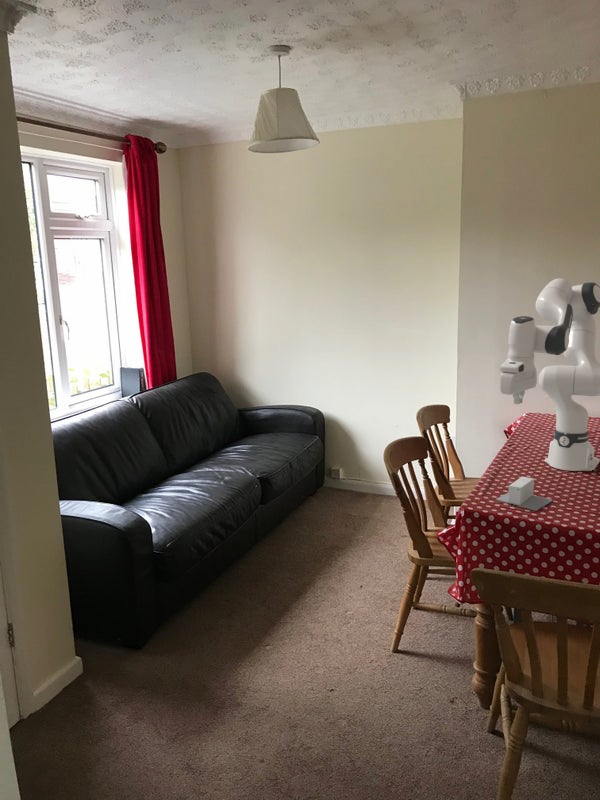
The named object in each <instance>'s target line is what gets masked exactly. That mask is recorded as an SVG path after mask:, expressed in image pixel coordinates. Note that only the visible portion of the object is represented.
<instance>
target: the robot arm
mask: <svg viewBox="0 0 600 800" xmlns="http://www.w3.org/2000/svg"><path fill="white" fill-rule="evenodd" d="M599 309H600V286H599V285H598V284H597V283H596V282H590V281H589V282H583V284H577V285H572V284H571V282H570V281H568V280H567V279H565V278H561V277H560V278H555V279H553V280H551V281H550V282H548V283H547V284H546V285H545V286H544V288H543V289H542V290H541V291H540V293H539V294H538V296H537V299H536V300H535V310H536V312H537V314H538V315H539V317H541V318H542V319H543V320H545V321H548V322H552V323H557V324H555V325H543V324H542V325H541V324H540V325H539V324H536V322H535V318H534V317H532V316H527V315H525V316H516V317H514V318H512V319H511V322H510V325H509V330H508V338H507V339H508V340H507V343H508V351H507V356H506V357H507V358H506V359H505V361H504V362H503V363H501V364H500V367H499V371H500V372H501V374H500V378H499V379H500V381H499V384H500V385H499V389H500V390H499V391H500V393H501V394H502V395H507V396H510V395H512V398H513V404H514V405H520V404H522V403H523V399H524V396H525V394H526V390H527V391H528V390H531V389H534V388H536V386H537V383H539V387H540V389H541V390H542V391H544V393H546V394H547V395H548V396H549V398H550V399H551V400H552V402H553V404H554V407H555V413H556V418H555V420H556V421H555V428H554V431H553V438H554V439H553V440H551V441H550V442H549V451H548V456H547V457H545V459H544V462H545V463H547V464H548V465H549V466H551V467H552V468H553V469H554V468H555V469H557V470H558V469H559V470H563V471H573V472H577V471H578V472H579V471H580V472H582V471H583V472H587V471H590V472H592V470H594V471H595V470H596V468H597V467H598V465H599V463H600V458H598V457H595V447H594V446H593V445H592V444H591V442H590V440H589V436H590V435H591V431H592V430H591V429H588V420H589V412H588V409H586V408H585V407H584V406H583V405H582V404H580V403H578V402H576V401H574V399H573V397H572V396H585V397H586V396H587V397H596V396H600V362H599V361H598V359H597V357H596V354H595V353H596V352H595V351H596V349H595V348H596V338H597V328H596V320H595V317H594V316H593V315H596V314H597V313H598V311H599ZM535 353H537V354H546V355H547V354H548V355H554V356H561V355H562V354H563V356H564V358H565V359H566V360H567V361H568V362H569V363H571V364H573V365H565V364H555V365H554V364H553V365H548V366H544V367H543V368H542V369H541V370H540V373H539V375H538V374H537V372H538V371H537V368H536V367H535ZM537 377H538V378H537ZM537 380H538V382H537Z"/></svg>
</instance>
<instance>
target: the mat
mask: <svg viewBox="0 0 600 800" xmlns="http://www.w3.org/2000/svg"><path fill="white" fill-rule="evenodd" d="M508 494H509V491H508V492H506V493H505V494H503V495H501V496H499V497H497V498H495V501H496V500H497V502H499V501H501V502H500V503H503V502H505V503H504V504H507V503H508ZM552 502H553V499H551V498H547V497H543V496H538V495H534V494H533V496H531V497H530V498H529V499H527V500H526V501H525V502H523V503H522V504H521V505H517V504H513V503H509V504H508V505H511V504H513V505H512V506H515V505H516V506H515V507H519V508H523V509H526V508H527V510H531V511H535V512H536V511H538V510H540V509H542V508H544V507H545V506H546V505H548V504H551V503H552Z"/></svg>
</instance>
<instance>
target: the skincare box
mask: <svg viewBox="0 0 600 800" xmlns="http://www.w3.org/2000/svg"><path fill="white" fill-rule="evenodd" d="M534 485H535V479H534V478H532V477H526V476H521V477H519V478H518V479H517V480H515V481H514V482H513V483H511V484H509V485H508V492H509V494H508V503H513V504H517V505H521V504H522V503H523V502H525V501H526V500H527V499H529V498H530V497H531V496H533V495H534V487H535V486H534Z"/></svg>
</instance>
